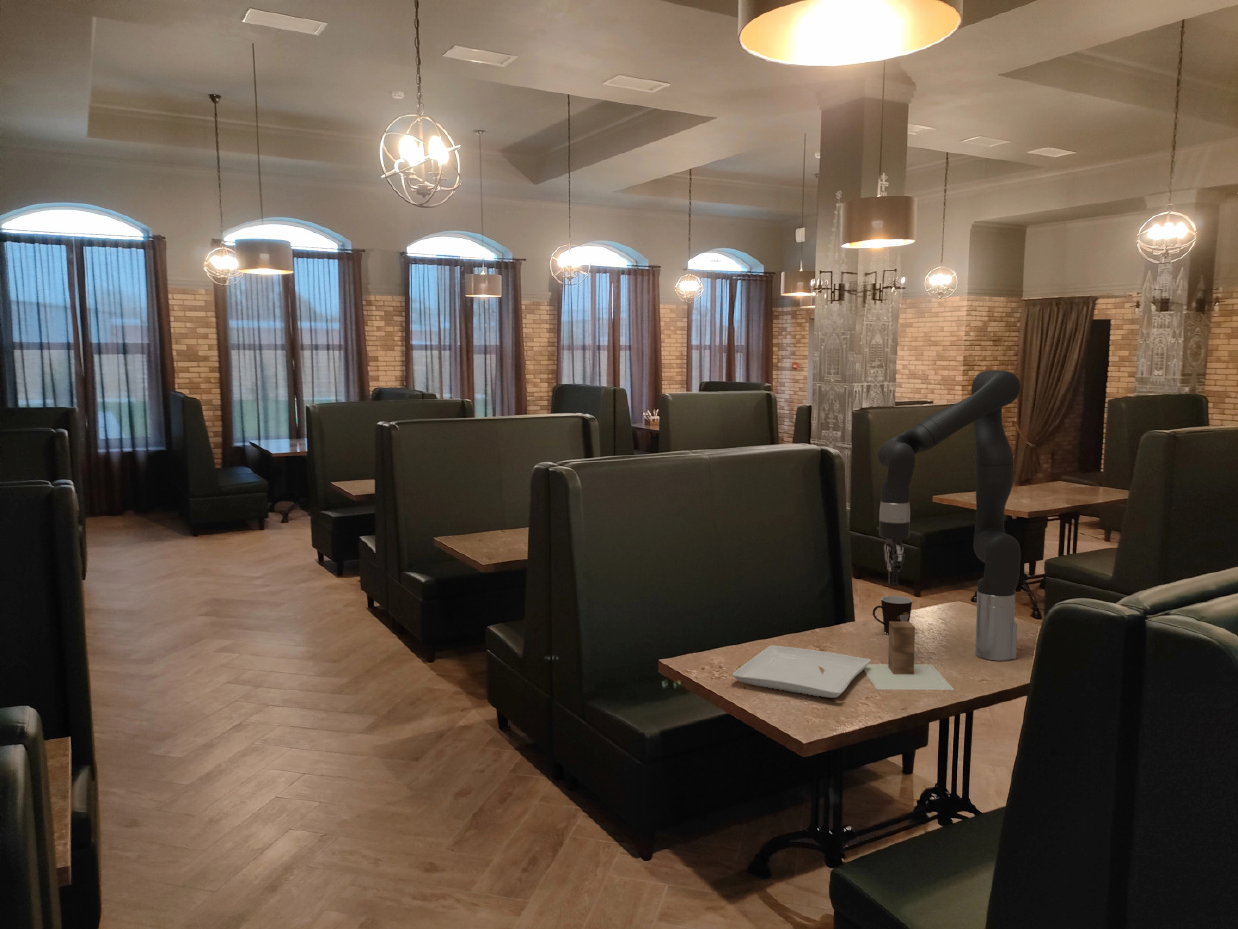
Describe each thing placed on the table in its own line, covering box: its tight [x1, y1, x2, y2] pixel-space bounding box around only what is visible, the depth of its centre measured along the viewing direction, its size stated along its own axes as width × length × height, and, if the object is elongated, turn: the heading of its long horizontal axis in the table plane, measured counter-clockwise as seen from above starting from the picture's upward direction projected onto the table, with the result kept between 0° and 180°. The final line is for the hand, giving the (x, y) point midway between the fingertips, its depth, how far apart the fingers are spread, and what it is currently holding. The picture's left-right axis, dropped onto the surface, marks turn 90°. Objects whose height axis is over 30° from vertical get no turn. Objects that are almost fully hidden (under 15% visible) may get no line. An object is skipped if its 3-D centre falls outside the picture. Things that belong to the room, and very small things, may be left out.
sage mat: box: [863, 663, 955, 691], centre depth 214 cm, size 18×18×1 cm
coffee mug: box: [872, 595, 913, 634], centre depth 250 cm, size 12×9×10 cm
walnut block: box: [887, 621, 916, 674], centre depth 217 cm, size 5×5×12 cm
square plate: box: [731, 644, 872, 699], centre depth 215 cm, size 27×27×4 cm
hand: (893, 585), depth 224 cm, fingers closed
